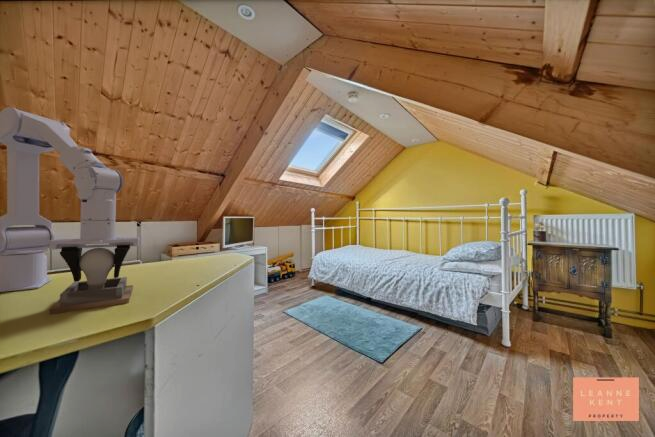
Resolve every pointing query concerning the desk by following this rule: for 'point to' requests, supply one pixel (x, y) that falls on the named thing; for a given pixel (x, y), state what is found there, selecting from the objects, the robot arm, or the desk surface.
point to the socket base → (92, 296)
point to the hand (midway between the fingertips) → (97, 278)
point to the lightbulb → (97, 266)
